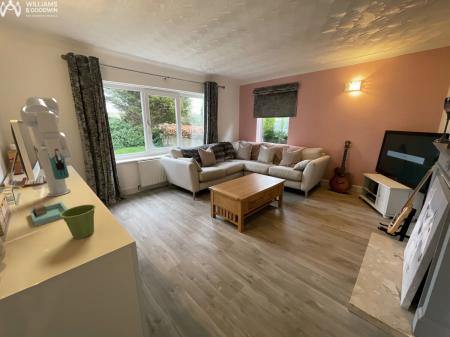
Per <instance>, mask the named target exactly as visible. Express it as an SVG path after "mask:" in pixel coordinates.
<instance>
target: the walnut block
mask: <svg viewBox="0 0 450 337" xmlns="http://www.w3.org/2000/svg"><path fill="white" fill-rule="evenodd" d="M45 206H46V205H43V204H40V205H38V206H34V207H32V210H33V212H34V215H36V216H40V215H43V214H46V213H47V211H46V207H45Z"/></svg>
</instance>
